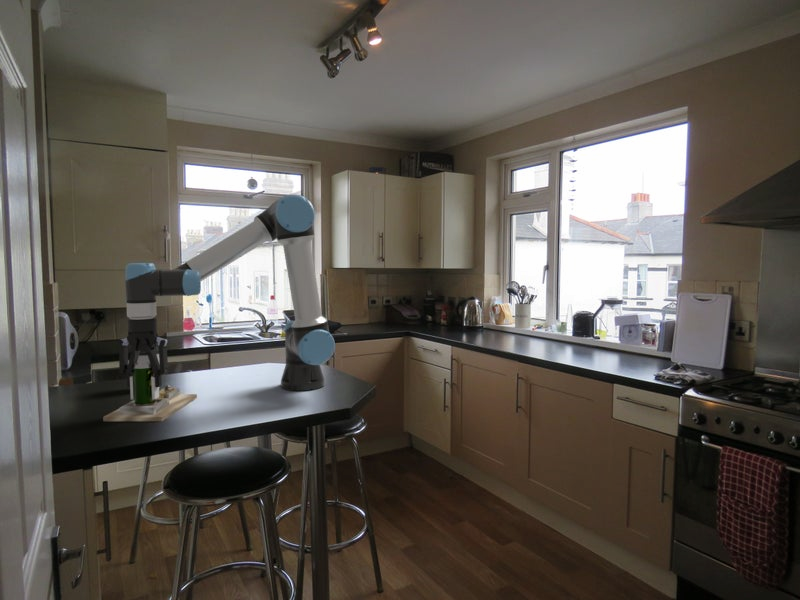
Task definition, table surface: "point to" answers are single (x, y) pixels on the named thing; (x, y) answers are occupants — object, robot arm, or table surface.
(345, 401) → the table surface
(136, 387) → the beer can
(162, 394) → the bar
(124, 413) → the dock
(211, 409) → the table surface
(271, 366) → the table surface
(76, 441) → the table surface
